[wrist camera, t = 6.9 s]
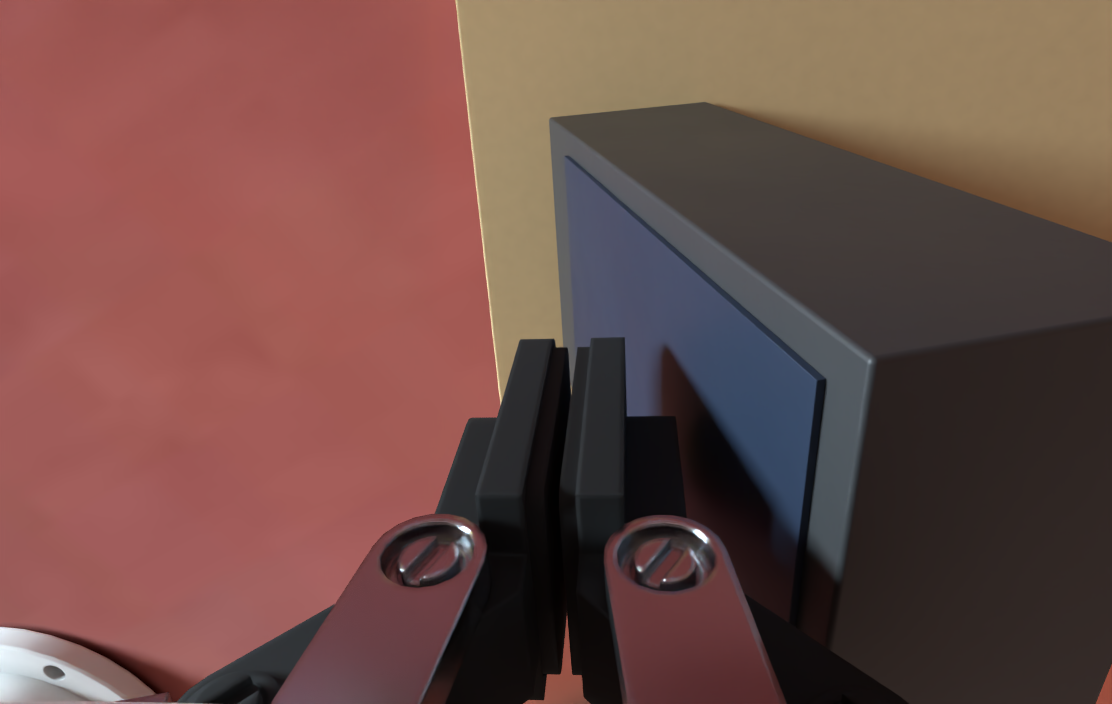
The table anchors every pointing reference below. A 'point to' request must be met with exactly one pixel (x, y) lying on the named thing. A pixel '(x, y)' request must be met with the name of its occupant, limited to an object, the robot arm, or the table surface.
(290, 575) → the table surface
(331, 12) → the table surface
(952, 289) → the black device
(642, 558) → the robot arm
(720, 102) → the cork mat
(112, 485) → the table surface
